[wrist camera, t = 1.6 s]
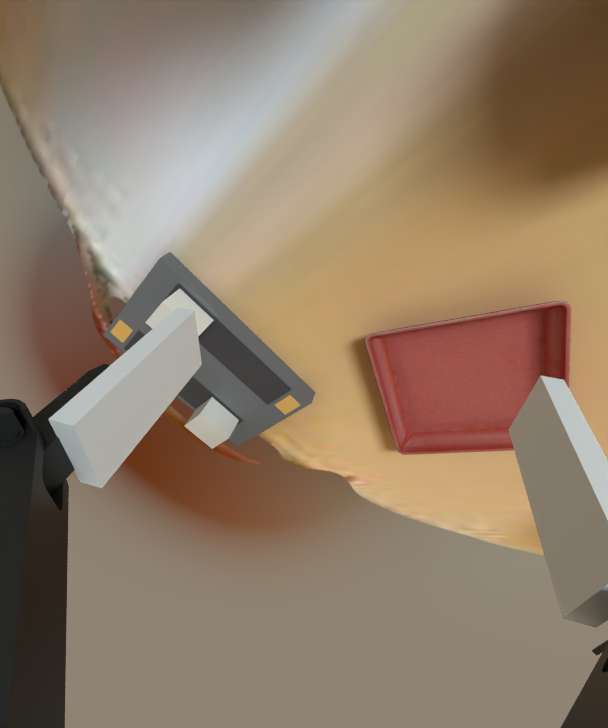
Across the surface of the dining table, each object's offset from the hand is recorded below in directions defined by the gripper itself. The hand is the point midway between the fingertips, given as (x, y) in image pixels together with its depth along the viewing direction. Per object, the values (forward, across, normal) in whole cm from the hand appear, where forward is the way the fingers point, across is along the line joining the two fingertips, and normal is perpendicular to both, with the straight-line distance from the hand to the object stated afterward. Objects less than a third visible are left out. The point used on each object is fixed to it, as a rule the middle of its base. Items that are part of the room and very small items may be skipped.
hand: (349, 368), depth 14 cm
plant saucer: (+24, +12, -16) cm, 31 cm away
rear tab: (+21, -18, -28) cm, 40 cm away
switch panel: (+24, -19, -21) cm, 37 cm away
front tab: (+22, -20, -13) cm, 32 cm away
